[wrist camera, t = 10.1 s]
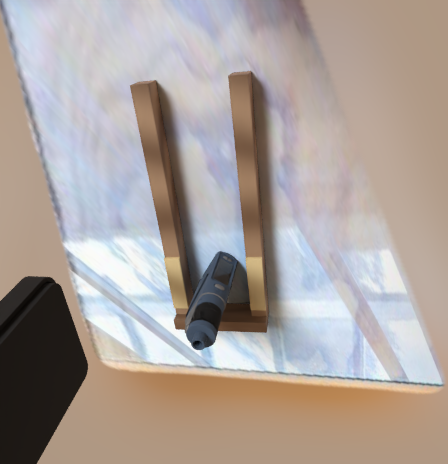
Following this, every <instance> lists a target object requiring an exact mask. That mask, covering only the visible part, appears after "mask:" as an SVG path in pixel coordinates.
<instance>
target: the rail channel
mask: <svg viewBox="0 0 448 464" xmlns="http://www.w3.org/2000/svg"><path fill="white" fill-rule="evenodd" d="M228 78H229V88H230V98H231V109H232V119H233V129H234V139H235V150H236V160H237V170H238V180H239V190H240V201H241V211H242V221H243V231H244V242H245V252H246V268H247V278H248V288H249V298H250V304H234V303H226V307H225V310H224V311H223V315H222V318H221V322H220V325H219V324H217V325H219V328H218V331H238V332H265V333H266V332H267V324H268V316H269V309H268V295H267V281H266V268H265V254H264V240H263V227H262V213H261V199H260V186H259V172H258V159H257V145H256V131H255V118H254V104H253V90H252V77H251V71H247V72H236V73H232V74H230V75H229V76H228ZM130 88H131V93H132V98H133V103H134V108H135V112H136V117H137V122H138V127H139V132H140V137H141V142H142V147H143V152H144V157H145V161H146V166H147V171H148V176H149V181H150V186H151V191H152V196H153V201H154V206H155V211H156V215H157V220H158V225H159V230H160V235H161V240H162V245H163V250H164V255H165V258H164V261H165V266H166V271H167V275H168V280H169V285H170V290H171V295H172V300H173V305H174V308H175V309H176V313H177V314H176V317H175V319H174V323H175V328H176V329H183V330H185V326H186V325H185V319H186V314H187V311H188V309H189V306H190V304H191V301H192V299H193V296H194V295H193V289H192V284H191V278H190V272H189V267H188V261H187V255H186V250H185V244H184V238H183V232H182V227H181V221H180V215H179V210H178V204H177V198H176V192H175V187H174V181H173V175H172V170H171V164H170V158H169V153H168V147H167V141H166V135H165V130H164V124H163V118H162V113H161V107H160V101H159V96H158V90H157V84H156V80H154V81H144V82H138V83H135V84H133V85H130Z"/></svg>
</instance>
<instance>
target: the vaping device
mask: <svg viewBox="0 0 448 464" xmlns="http://www.w3.org/2000/svg"><path fill="white" fill-rule="evenodd" d="M236 266H237V260H236V259H235V258H234V257H233V256H231V255H230V254H228V253H224V252H221V251H220V252H218V253H217V254H216V255H215V257H214V259H213V260H212V262H211V263H210V265H209V267H208V268H207V270H206V271H205V273H204V275H203V277H202V279H201V280H200V281H199V284H198V286H197V289H196V291H195V294H194V296H193V299H192V301H191V304H190V306H189V309H188V311H187V314H186V319H185V325H186V326H185V333H186V336H187V338H188V340H189V341H190V342H191V345H192V347H193V348H194V349H196V350H202V349H204V348H205V347H209V346H211V345H213V344H214V342H215V340H216V336H217V333H218V328H219V325H220V322H221V318H222V315H223V311H224V310H225V307H226V302H227V299H228V295H229V291H230V289H231V287H232V286H231V284H232V281H233V277H234V273H235V270H236ZM217 324H219V325H217Z"/></svg>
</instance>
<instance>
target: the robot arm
mask: <svg viewBox="0 0 448 464" xmlns="http://www.w3.org/2000/svg"><path fill="white" fill-rule="evenodd" d="M87 370H88V363H87V360H86V357H85V354H84V351H83V348H82V345H81V343H80V339H79V337H78V334H77V331H76V328H75V325H74V322H73V320H72V317H71V314H70V311H69V308H68V305H67V302H66V299H65V296H64V293H63V291H62V288H61V286H60V285H59V284H57V283H56V282H55V281H54V280H53V279H52V278H50V277H32V276H28V277H25V278H23V279H22V280H21V281H20V282H19V283H18V284H17V285H16V286H15V287H14V288H13V289H12V290H11V291H10V292H9V293H8V294H7V295H6V296H5V297H4V298H3V299H2V300H1V301H0V464H37V462H38V460H39V459H40V457H41V455H42V453H43V452H44V450H45V448H46V446H47V445H48V443H49V441H50V439H51V437H52V436H53V434H54V432H55V430H56V429H57V427H58V425H59V423H60V422H61V420H62V418H63V416H64V414H65V413H66V411H67V409H68V407H69V406H70V404H71V402H72V400H73V398H74V397H75V395H76V393H77V392H78V390H79V388H80V386H81V384H82V382H83V381H84V379H85V377H86V375H87Z"/></svg>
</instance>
